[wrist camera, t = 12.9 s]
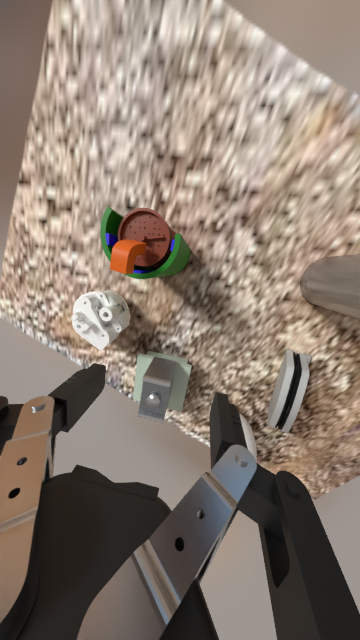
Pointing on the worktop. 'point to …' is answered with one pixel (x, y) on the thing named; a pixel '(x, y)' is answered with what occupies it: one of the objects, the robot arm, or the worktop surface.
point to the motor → (142, 244)
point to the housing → (156, 389)
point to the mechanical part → (100, 317)
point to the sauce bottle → (249, 437)
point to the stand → (178, 382)
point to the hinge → (289, 390)
